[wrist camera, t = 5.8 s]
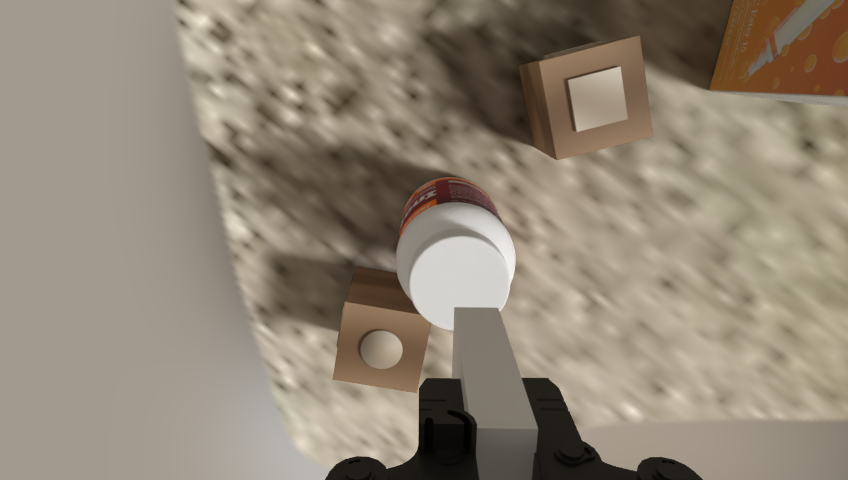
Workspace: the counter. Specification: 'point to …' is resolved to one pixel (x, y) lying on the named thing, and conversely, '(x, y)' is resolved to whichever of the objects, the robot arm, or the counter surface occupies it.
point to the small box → (786, 51)
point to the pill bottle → (453, 250)
